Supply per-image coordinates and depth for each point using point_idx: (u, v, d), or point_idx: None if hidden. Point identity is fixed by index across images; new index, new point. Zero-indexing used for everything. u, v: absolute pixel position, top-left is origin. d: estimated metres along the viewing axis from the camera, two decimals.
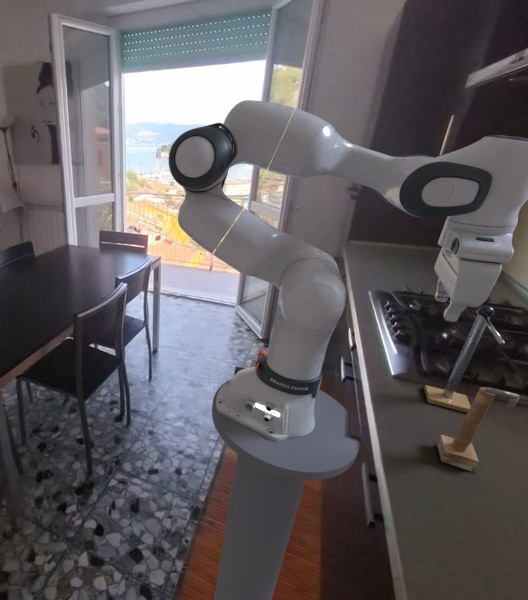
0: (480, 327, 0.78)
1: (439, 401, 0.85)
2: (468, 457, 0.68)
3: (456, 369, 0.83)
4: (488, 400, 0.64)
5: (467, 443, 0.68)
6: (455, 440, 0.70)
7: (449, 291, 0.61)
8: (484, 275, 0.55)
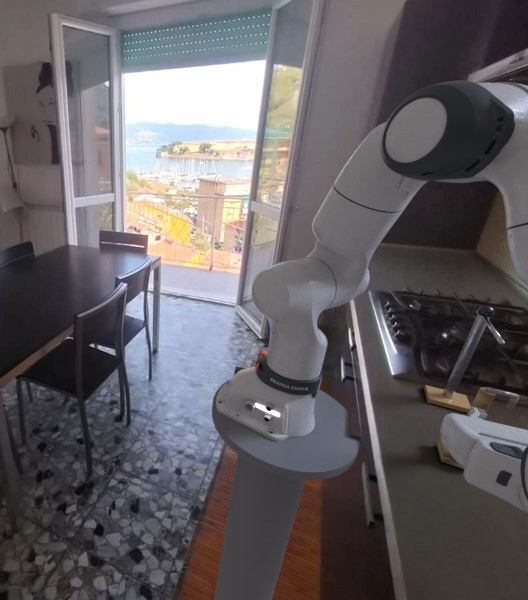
0: (480, 327, 0.78)
1: (439, 401, 0.85)
2: None
3: (456, 369, 0.83)
4: (488, 400, 0.64)
5: None
6: None
7: (480, 421, 0.52)
8: (454, 446, 0.51)
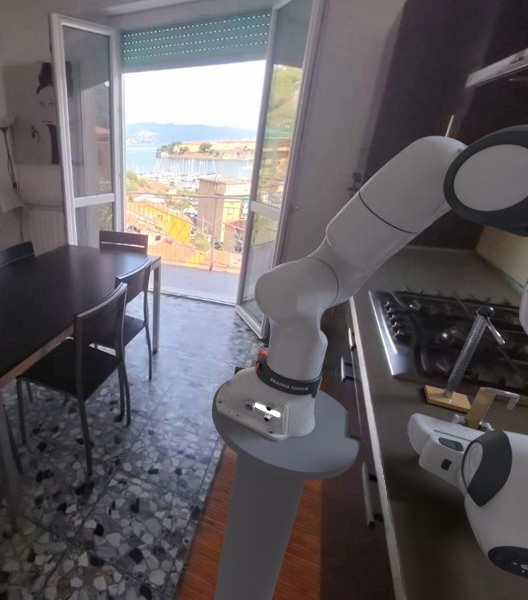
0: (480, 327, 0.78)
1: (439, 401, 0.85)
2: None
3: (456, 369, 0.83)
4: (488, 400, 0.64)
5: None
6: None
7: (437, 420, 0.66)
8: (414, 439, 0.65)
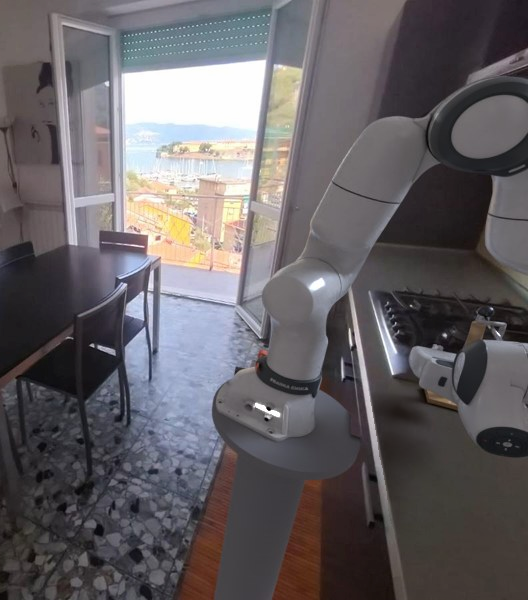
0: None
1: (439, 401, 0.85)
2: None
3: None
4: (480, 331, 0.74)
5: None
6: None
7: (435, 350, 0.76)
8: (415, 366, 0.75)
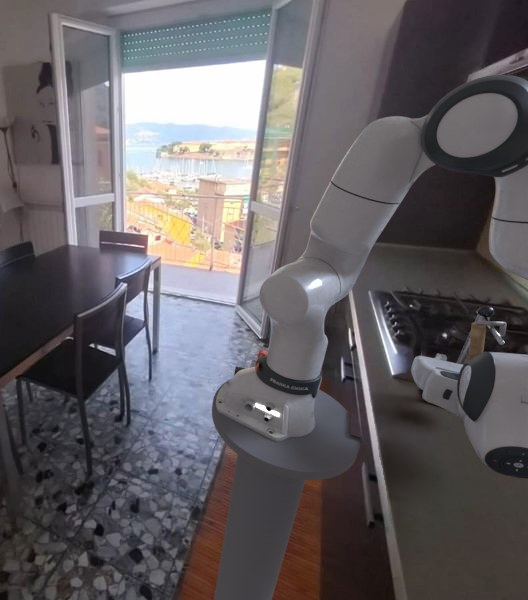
0: None
1: None
2: None
3: None
4: (481, 332, 0.74)
5: None
6: None
7: (439, 360, 0.72)
8: (418, 377, 0.71)
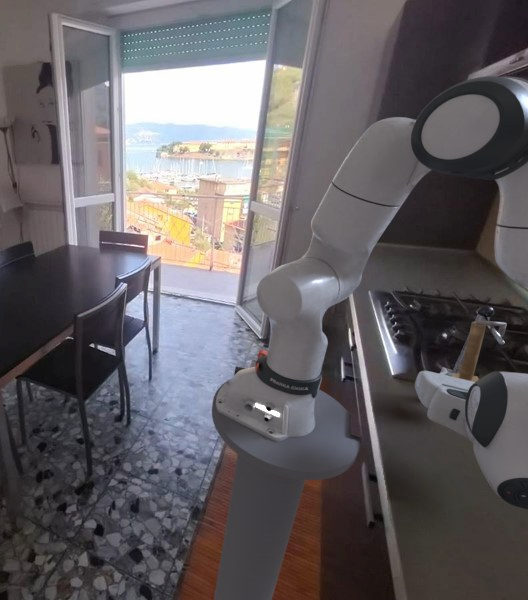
0: None
1: None
2: None
3: (456, 369, 0.83)
4: (480, 331, 0.74)
5: (471, 374, 0.77)
6: (460, 373, 0.79)
7: (445, 376, 0.68)
8: (422, 394, 0.67)
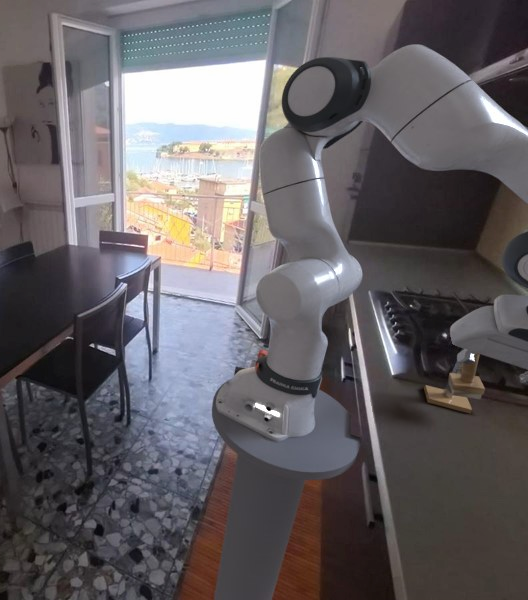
0: None
1: (439, 401, 0.85)
2: (475, 386, 0.77)
3: (456, 369, 0.83)
4: None
5: (472, 375, 0.77)
6: (461, 374, 0.79)
7: None
8: (476, 322, 0.56)
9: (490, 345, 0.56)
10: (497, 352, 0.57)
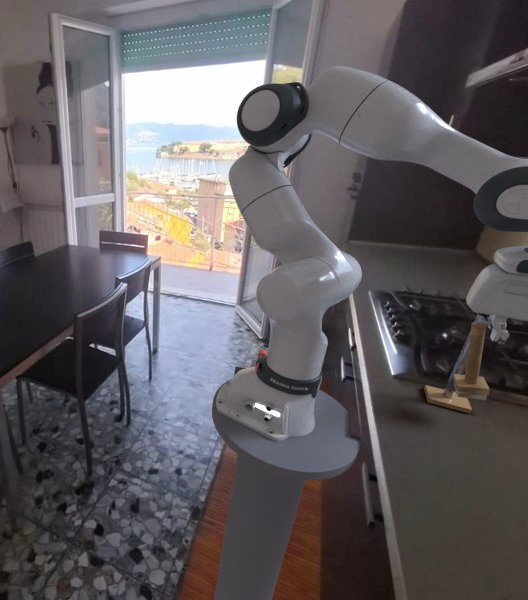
0: None
1: (439, 401, 0.85)
2: (479, 387, 0.76)
3: (456, 369, 0.83)
4: (481, 332, 0.74)
5: (476, 375, 0.77)
6: (465, 375, 0.79)
7: None
8: (484, 277, 0.55)
9: (511, 301, 0.53)
10: (524, 309, 0.53)
